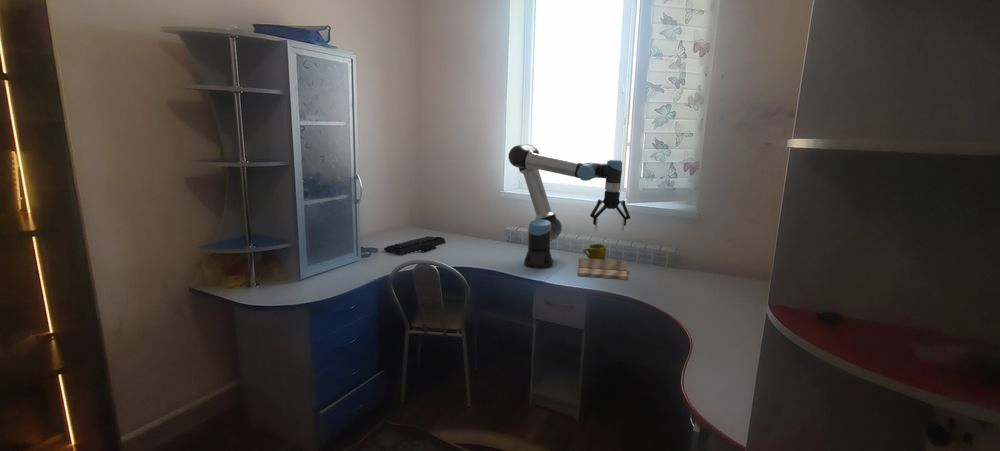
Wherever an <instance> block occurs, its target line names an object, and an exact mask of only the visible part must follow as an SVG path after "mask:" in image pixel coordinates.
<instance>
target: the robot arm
mask: <svg viewBox="0 0 1000 451" xmlns="http://www.w3.org/2000/svg"><path fill="white" fill-rule="evenodd" d="M508 161H509V163H510V164H511V165H512V166H513V167H515V168H518V169H519V173H521V174H522V175H523V177H524V180H525V183H526V186H527V190H528V193H529V196H530V199H531V203H532V206H533V209H534V213H535V215H536V216H535V218H534V220H531V221H530V222H529V223H528V233H527V234H528V236H527V237H528V240H527V243H528V244H527V248H528V249H527V251H526V252H527V253H526V255H525V257H524V266H526V267H529V268H530V269H531V268H532V269H548V268H549V269H550V268H552V267H553V265H554V261H553V257H552V254H551V241H553V240H555V239H557V238H558V237H559V236H560V234H561V233H562V230H563V225H562V223H561V221H560V220H559V219H558V218H557V216H556V215H557V214H556V213H555V212H553V211H552V208H551V206H550V202H549V200H548V196H547V193H546V190H545V186H544V183H543V180H542V177H541V174H540V171H545V172H548V173H549V172H550V173H554V174H557V175H563V176H564V175H565V176H566V177H567V176H568V177H573V178H577V179H580V180H582V181H585V182H587V181H591V180H592V179H597V178H598V179H605V187H604V190H605V191H604V195H603V196H604V197H603V199H598V198H597V201H596V202H597V203H596V204H595V206H594V208H593V209H592V211H591V213H590V215H589V216H590V218H592V223H593V224H592V225H594V232H597V231H598V222H599V221H598V220H599V219H598V217H600V215H601V214H602V213H603V212H604V211H606V210H607V209H608V210H616V211H617V212H618V213H619V215H620V216H621V217H622V219H621V221H620V222H621V225H620V232H621V233H624V228H625V227H626V225H627V221H628V220H629V219H631V215H630V213H629V211H628V207H627V206H626V201H625V200H624V199H623V200H620V196H621V195H620V194H621V192H620V191H621V184H622V174H623V161H621V160H617V159H608V160H607V162H606V163H604V162H603V163H601V162H592V161H589V162H584V163H582V162H578V161H574V160H568V159H563V158H558V157H555V156H550V155H544V154H541V153H540V151H539V149H538V148H537V147H536V146H534V145H532V144H520V145H519V144H518V145H515V146H513V147H511V149H510V150H509V153H508ZM601 205H603V206H602V207H600V206H601ZM619 205H621V206H622V210H623V211H624V213H623V211H622V210H621V208H620V207H619ZM599 208H600V209H599ZM598 209H599V210H598ZM624 226H625V227H624Z"/></svg>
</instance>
